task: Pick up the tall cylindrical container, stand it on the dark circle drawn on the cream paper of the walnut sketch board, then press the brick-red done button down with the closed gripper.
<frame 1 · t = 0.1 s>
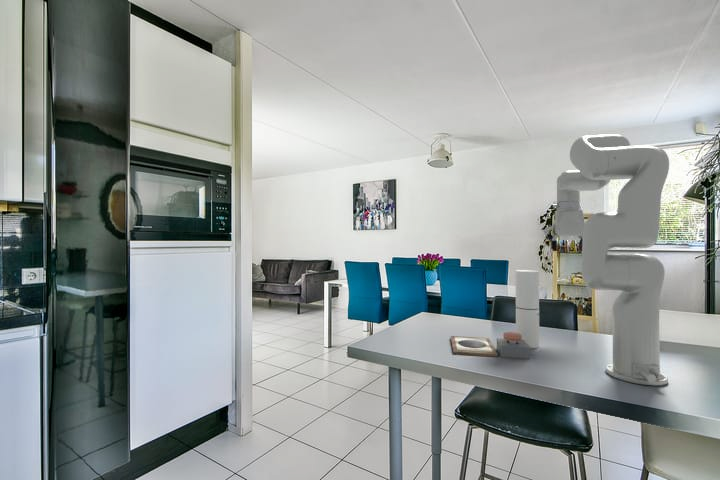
hand: (568, 251, 134), 31 cm above the table, tool pointing down, fingers open, 9 cm apart
button housing: (512, 353, 108), on the table
cylindrical container: (527, 345, 117), on the table
done button: (512, 340, 108), point 4 cm above the table, slide at 0.0 cm
sketch board: (472, 346, 115), on the table
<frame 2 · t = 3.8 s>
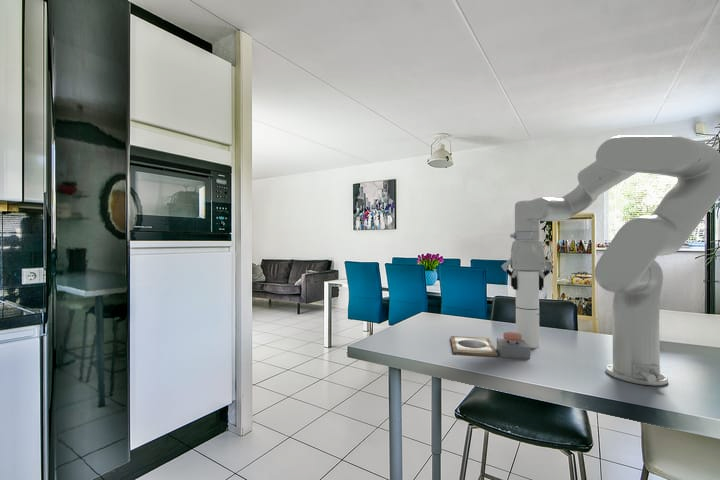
hand: (527, 289, 117), 19 cm above the table, tool pointing down, fingers closed on cylindrical container, 7 cm apart
cylindrical container: (527, 345, 117), on the table, touching gripper
everything else where it was.
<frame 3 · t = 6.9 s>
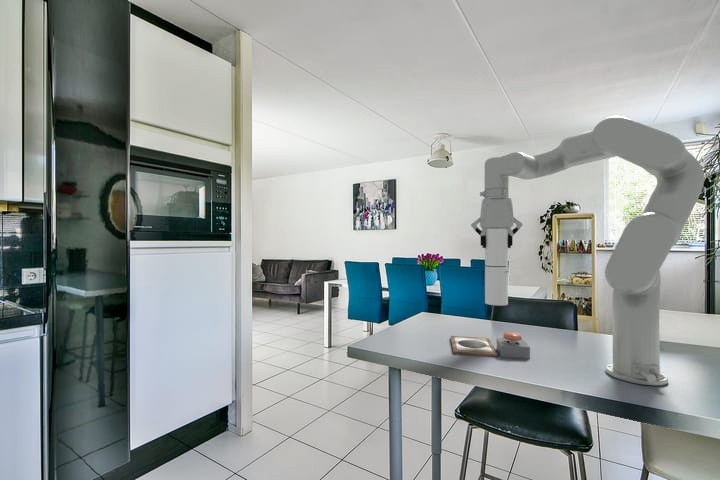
hand: (496, 247, 116), 33 cm above the table, tool pointing down, fingers closed on cylindrical container, 7 cm apart
cylindrical container: (496, 304, 116), point 14 cm above the table, touching gripper
everything else where it was.
when the fingers open (21 cm above the table, at t = 10.5 s): cylindrical container stays where it is, resting on sketch board.
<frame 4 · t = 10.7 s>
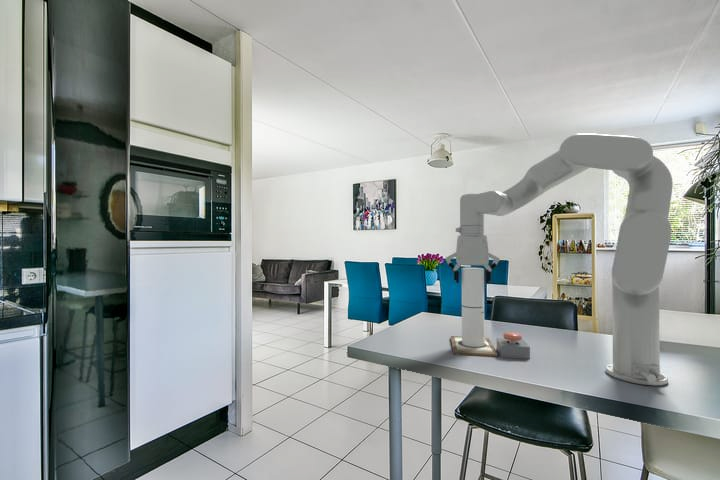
hand: (472, 282, 115), 21 cm above the table, tool pointing down, fingers open, 9 cm apart
cylindrical container: (473, 344, 115), point 1 cm above the table, touching sketch board
everything else where it was.
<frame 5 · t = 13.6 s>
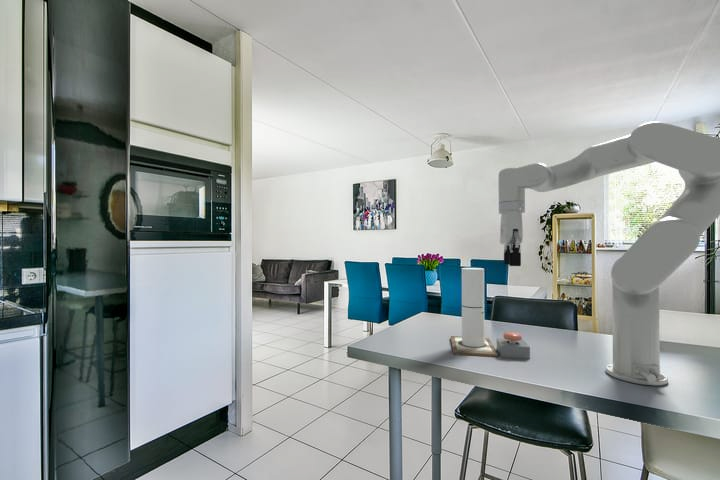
hand: (512, 264, 108), 28 cm above the table, tool pointing down, fingers open, 7 cm apart
nothing on the table moved.
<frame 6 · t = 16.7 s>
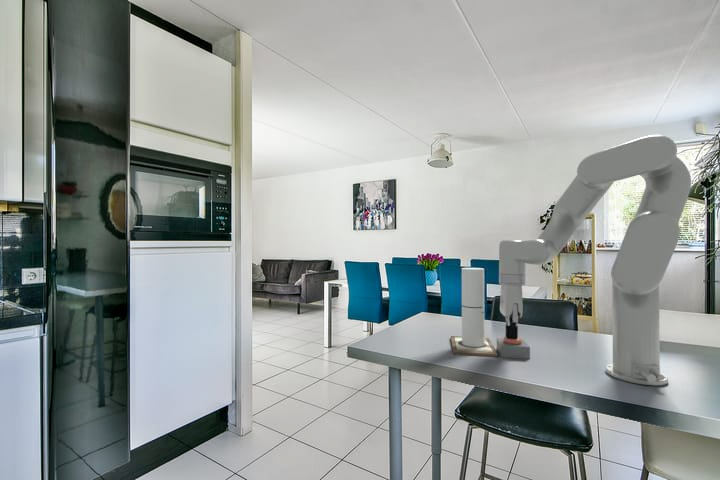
hand: (511, 338, 108), 5 cm above the table, tool pointing down, fingers closed
done button: (512, 344, 108), point 3 cm above the table, slide at -1.3 cm, touching gripper
everything else where it was.
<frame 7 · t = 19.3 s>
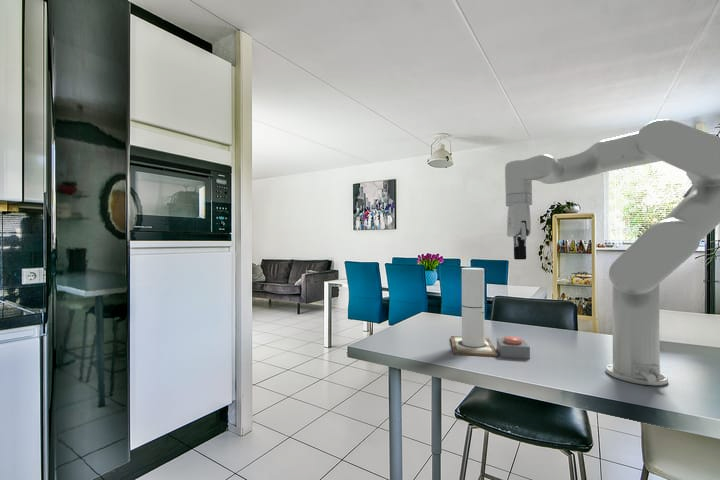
hand: (520, 259, 108), 29 cm above the table, tool pointing down, fingers closed
done button: (512, 344, 108), point 3 cm above the table, slide at -1.3 cm, touching button housing
everything else where it was.
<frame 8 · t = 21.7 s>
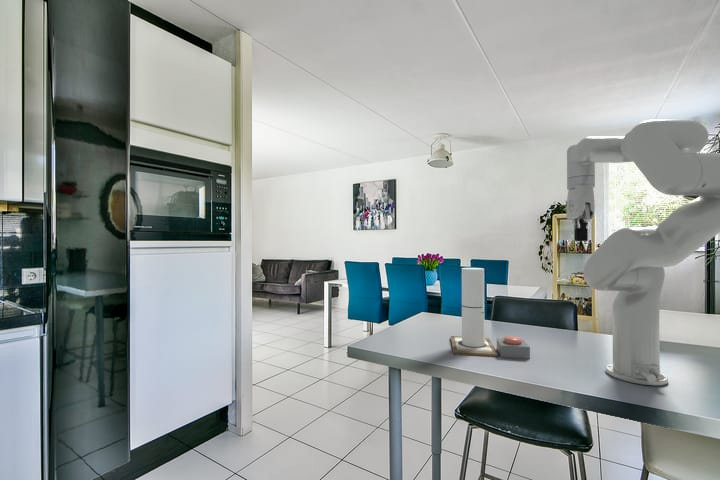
hand: (581, 240, 110), 35 cm above the table, tool pointing down, fingers closed
nothing on the table moved.
at the end: cylindrical container 0.3 cm off-centre on the sketch board, point 0.8 cm above the sketch board's base; cylindrical container tilted 0°; done button slide at -1.3 cm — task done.
